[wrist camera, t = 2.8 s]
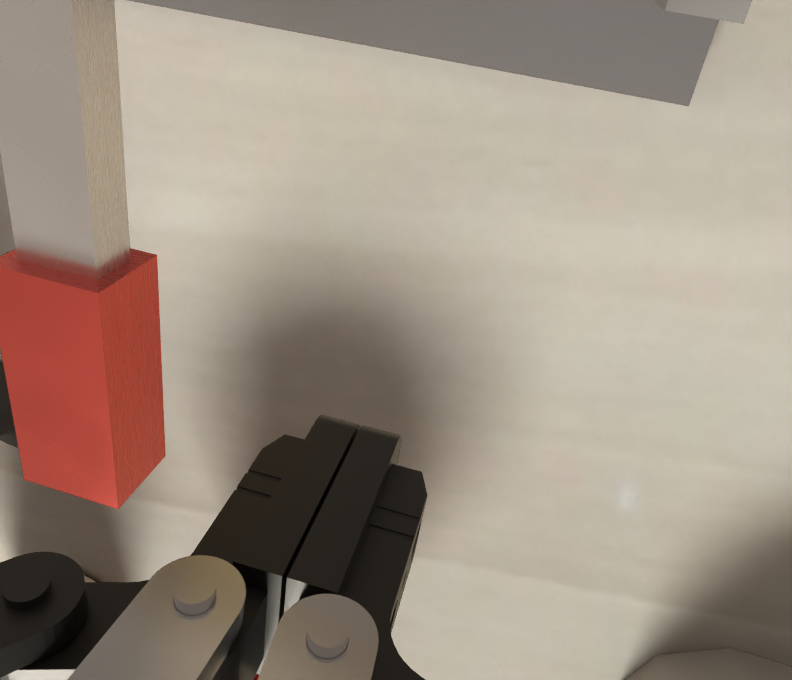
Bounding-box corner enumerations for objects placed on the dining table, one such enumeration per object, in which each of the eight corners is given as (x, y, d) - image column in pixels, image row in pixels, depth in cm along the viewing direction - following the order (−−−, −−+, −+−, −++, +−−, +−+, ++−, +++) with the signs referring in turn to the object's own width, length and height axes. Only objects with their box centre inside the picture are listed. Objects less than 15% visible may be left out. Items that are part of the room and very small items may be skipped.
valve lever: (-40, -453, 9) (-179, -544, 7) (145, -438, 8) (39, -530, 7) (73, 426, 16) (16, 476, 14) (174, 456, 16) (126, 511, 14)
